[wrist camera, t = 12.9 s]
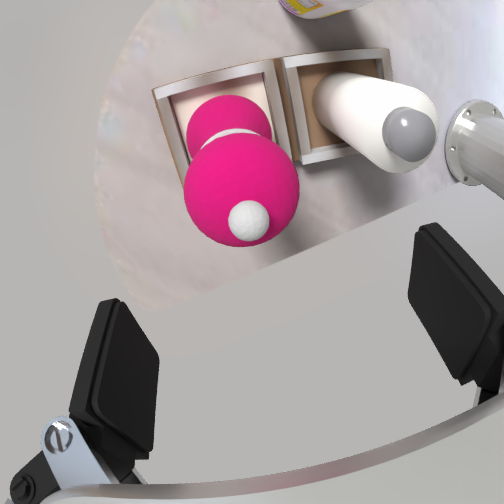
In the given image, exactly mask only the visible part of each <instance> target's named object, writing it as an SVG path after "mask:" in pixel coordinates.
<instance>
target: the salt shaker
mask: <svg viewBox="0 0 504 504" xmlns="http://www.w3.org/2000/svg"><path fill="white" fill-rule="evenodd" d="M311 104H312V110H313V113H314V115H315V117H316V119H317V120H318V121H319V122H320V123H321V124H322V125H323V126H324V127H325V128H327V129H328V130H330V131H331V132H333V133H334V134H335V135H337V136H338V137H340V138H341V139H342V140H344V141H345V142H347V143H348V144H349V145H351V146H352V147H353V148H355V149H356V150H357V151H359V152H360V153H361V154H363V155H364V156H365V157H367V158H368V159H369V160H370V161H372V162H373V163H374V164H376V165H377V166H378V167H380V168H381V169H383V170H385V171H387V172H390V173H406V172H409V171H412V170H414V169H416V168H418V167H419V166H420V165H422V164H423V163H424V162H425V161H426V160H427V159H428V157H429V156H430V155H431V153H432V151H433V149H434V147H435V145H436V142H437V138H438V132H439V122H438V116H437V113H436V110H435V107H434V105H433V104H432V102H431V101H430V99H429V98H428V97H427V96H426V95H425V94H424V93H422V92H421V91H420V90H418V89H416V88H413V87H410V86H406V85H402V84H399V83H395V82H391V81H387V80H382V79H378V78H374V77H369V76H364V75H360V74H355V73H349V72H343V71H339V72H333V73H330V74H328V75H326V76H324V77H323V78H322V79H321V80H320V81H319V82H318V83H317V85H316V86H315V88H314V90H313V93H312V99H311Z"/></svg>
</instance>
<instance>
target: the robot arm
mask: <svg viewBox="0 0 504 504" xmlns="http://www.w3.org/2000/svg"><path fill="white" fill-rule="evenodd" d="M445 152H446V160H447V164H448V167H449V169H450V171H451V173H452V174H453V176H454V177H455V178H456V179H458V180H459V181H460V182H462V183H463V184H466V185H469V186H476V185H480V184H483V185H485V186H486V187H487V188H489V189H490V190H491V191H493V192H494V193H496V194H497V195H498V196H500V197H501V198H502V199H504V118H503V116H502V114H501V112H500V111H499V110H498V108H497V107H496V106H494V105H493V104H491V103H489V102H487V101H483V100H473V101H470V102H468V103H466V104H465V105H463V106H462V107H461V108H460V109H459V110H458V111H457V113H456V114H455V115H454V117H453V119H452V121H451V123H450V126H449V129H448V132H447V137H446V145H445ZM408 299H409V302H410V304H411V306H412V307H413V309H414V311H415V312H416V314H417V316H418V317H419V319H420V321H421V322H422V324H423V326H424V327H425V329H426V331H427V332H428V334H429V336H430V337H431V339H432V341H433V343H434V344H435V346H436V348H437V350H438V352H439V353H440V355H441V357H442V359H443V361H444V362H445V364H446V366H447V368H448V370H449V372H450V373H451V375H452V377H453V378H454V379H458V380H459V382H460V384H461V386H462V385H464V384H466V383H468V382H470V381H472V380H474V381H475V382H476V384H477V391H476V395H475V400H474V404H473V408H472V409H470V410H468V411H466V412H464V413H462V414H459V415H457V416H455V417H453V418H451V419H449V420H447V421H445V422H442V423H440V424H438V425H436V426H433V427H431V428H429V429H426V430H424V431H422V432H419V433H417V434H414V435H412V436H409V437H407V438H404V439H401V440H399V441H396V442H393V443H390V444H388V445H385V446H382V447H379V448H376V449H373V450H370V451H367V452H363V453H360V454H357V455H353V456H351V457H347V458H343V459H339V460H336V461H332V462H328V463H324V464H320V465H316V466H311V467H307V468H302V469H298V470H293V471H288V472H282V473H277V474H271V475H265V476H259V477H252V478H245V479H237V480H227V481H217V482H205V483H187V484H150V485H149V484H147V482H146V481H145V480H144V479H143V477H142V476H141V475H140V474H139V472H138V471H137V470H136V469H135V467H134V465H135V460H138V459H139V460H140V459H142V460H143V459H149V452H150V451H152V449H153V443H154V424H155V410H156V395H157V384H158V372H159V356H158V354H157V352H156V350H155V349H154V347H153V346H152V344H151V343H150V341H149V340H148V338H147V337H146V335H145V334H144V332H143V331H142V329H141V328H140V326H139V325H138V323H137V321H136V320H135V318H134V317H133V315H132V313H131V312H130V310H129V309H128V307H127V305H126V304H125V303H124V302H120V300H118V299H117V298H114V299H110V300H105V301H101V302H100V303H99V305H98V308H97V311H96V314H95V317H94V320H93V323H92V326H91V329H90V333H89V336H88V339H87V343H86V346H85V349H84V353H83V356H82V360H81V363H80V367H79V371H78V374H77V378H76V382H75V386H74V390H73V394H72V398H71V402H70V407H69V412H70V415H69V418H68V417H66V416H59V417H55V418H54V419H52V420H51V421H50V422H49V423H48V424H47V425H46V426H45V428H44V430H43V432H42V435H41V446H42V451H41V452H40V453H39V454H38V455H36V456H35V457H34V458H33V459H32V460H31V461H30V462H29V463H28V464H27V465H26V466H24V467H23V468H22V469H21V470H20V471H19V472H18V473H17V474H16V475H15V476H14V477H13V480H12V482H11V485H10V495H11V498H12V500H10V499H7V501H6V503H5V504H504V295H503V294H502V293H501V291H500V290H499V289H498V288H497V287H496V285H495V284H494V283H493V282H492V281H491V280H490V278H489V277H488V276H487V275H486V274H485V272H483V270H482V269H481V268H480V267H479V266H478V265H477V264H476V262H475V261H474V260H473V259H472V258H471V257H470V256H469V255H468V254H467V253H466V251H465V250H464V249H463V248H462V247H461V246H460V245H459V244H458V243H457V242H456V241H455V240H454V239H453V238H452V237H451V236H450V235H449V234H448V233H447V232H446V231H445V230H444V229H443V228H442V227H441V226H440V225H439V224H438V223H431V224H426V225H423V226H420V228H419V231H418V232H416V233H415V239H414V249H413V258H412V266H411V274H410V282H409V288H408Z"/></svg>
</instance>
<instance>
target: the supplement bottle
mask: <svg viewBox="0 0 504 504" xmlns="http://www.w3.org/2000/svg"><path fill="white" fill-rule="evenodd" d="M279 1H280V3H281V4H282V5H283V6H284V7H285V8H286V9H287V10H288V11H289V12H291V13H292V14H294V15H296V16H299V17H302V18H307V19H318V18H323V17H327V16H330V15H333V14H337V13H340V12H344V11H348V10H352V9H356V8H360V7H362V6H365V5H366V4H368V3H369V2H371V1H372V0H279Z"/></svg>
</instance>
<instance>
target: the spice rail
mask: <svg viewBox="0 0 504 504" xmlns="http://www.w3.org/2000/svg"><path fill="white" fill-rule="evenodd" d="M339 71H343V72H349V73H355V74H360V75H364V76H369V77H374V78H378V79H382V80H387V81H391V82H393V75H392V67H391V59H390V52H389V49H386V48H363V49H347V50H335V51H325V52H316V53H307V54H300V55H293V56H286V57H280V58H274V59H268V60H262V61H257V62H252V63H247V64H242V65H238V66H233V67H229V68H224V69H220V70H216V71H212V72H208V73H204V74H201V75H197V76H193V77H190V78H186V79H183V80H179V81H176V82H173V83H170V84H166V85H163V86H160V87H157V88H154V89H152V94H153V97H154V100H155V103H156V107H157V110H158V113H159V116H160V120H161V123H162V126H163V129H164V132H165V135H166V139H167V142H168V145H169V148H170V151H171V154H172V157H173V160H174V163H175V166H176V169H177V172H178V175H179V178H180V181H181V184H182V187H183V189H184V180H185V176H186V173H187V170H188V167H189V165H190V163H191V162H192V160H193V159H192V158H191V156H190V153H189V151H188V147H187V142H186V131H187V126H188V123H189V120H190V118H191V116H192V115H193V113H194V112H195V111H196V109H197V108H198V107H199V106H201V105H202V104H203V103H204V102H206V101H208V100H209V99H212V98H214V97H217V96H221V95H238V96H242V97H245V98H247V99H250V100H251V101H253V102H255V103H256V104H257V105H258V106H259V107H260V108H261V109H262V110H263V111H264V113H265V114H266V116H267V118H268V120H269V123H270V126H271V130H272V141H273V142H274V143H276V144H277V145H279V146H280V147H281V148H282V149H283V150H284V151H285V152H286V153H287V155H288V156H289V158H290V159H291V161H292V163H293V162H294V161H298V160H300V162H301V163H302V164H303V165H305V164H310V163H315V162H320V161H325V160H330V159H335V158H340V157H345V156H351V155H356V154H361V153H360V152H359V151H357V150H356V149H355V148H353V147H352V146H351V145H349V144H348V143H347V142H345V141H344V140H342V139H341V138H340V137H338V136H337V135H335V134H334V133H333V132H331V131H330V130H328V129H327V128H325V127H324V126H323V125H322V124H321V123H320V122H319V121H318V120H317V119H316V117H315V115H314V113H313V110H312V104H311V99H312V93H313V90H314V88H315V86H316V85H317V83H318V82H319V81H320V80H321V79H322V78H323V77H324V76H326V75H328V74H330V73H333V72H339Z"/></svg>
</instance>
